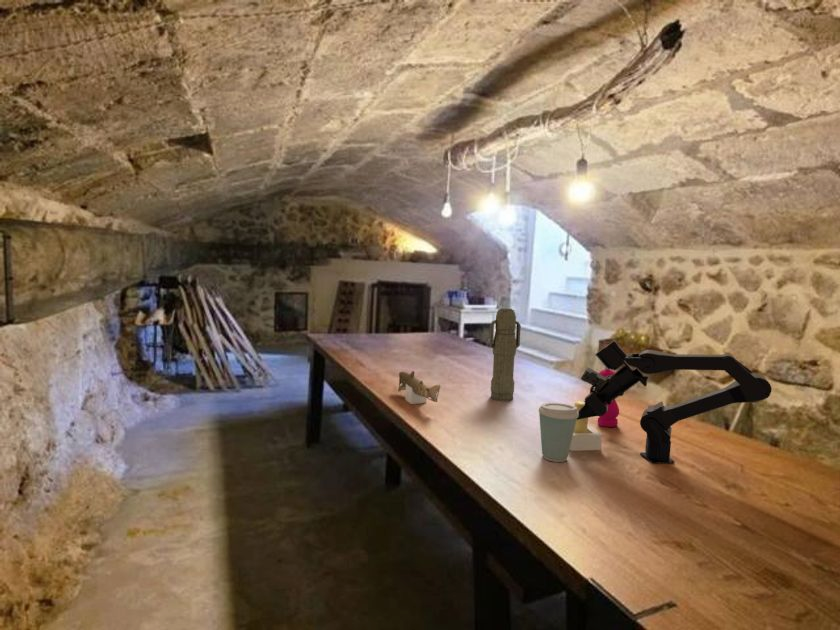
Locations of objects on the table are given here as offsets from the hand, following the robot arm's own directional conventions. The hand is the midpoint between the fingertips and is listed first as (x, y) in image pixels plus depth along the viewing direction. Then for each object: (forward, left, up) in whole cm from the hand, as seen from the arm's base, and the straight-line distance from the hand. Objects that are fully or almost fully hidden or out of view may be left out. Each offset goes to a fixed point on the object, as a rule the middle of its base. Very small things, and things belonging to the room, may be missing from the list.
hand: (577, 413), depth 145 cm
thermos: (+48, +9, -9) cm, 50 cm away
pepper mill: (+16, -18, -9) cm, 26 cm away
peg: (-1, -1, -9) cm, 9 cm away
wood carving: (+42, +42, -9) cm, 61 cm away
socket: (-1, -1, -9) cm, 9 cm away
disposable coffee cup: (-10, +10, -9) cm, 17 cm away
